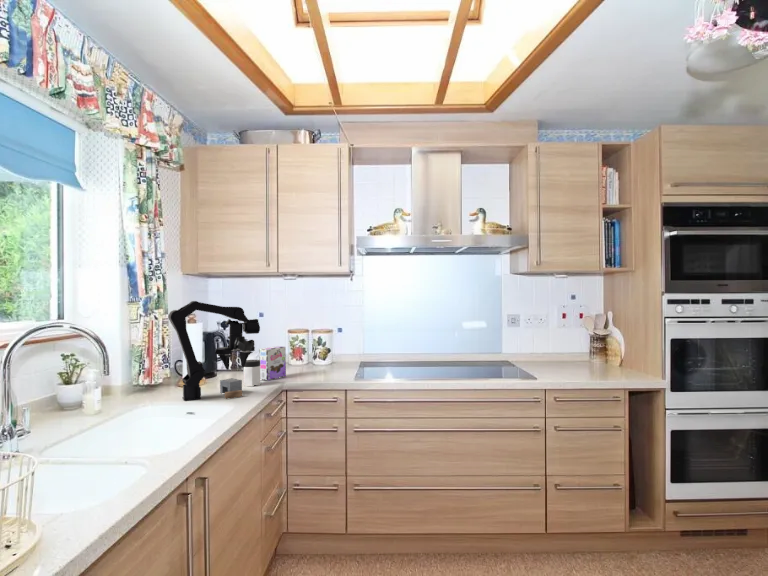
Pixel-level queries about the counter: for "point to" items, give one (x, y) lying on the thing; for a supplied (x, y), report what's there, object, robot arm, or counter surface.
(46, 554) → the counter surface
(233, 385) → the gray rectangular block
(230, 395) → the brown rectangular block
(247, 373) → the jar
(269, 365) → the candy box
